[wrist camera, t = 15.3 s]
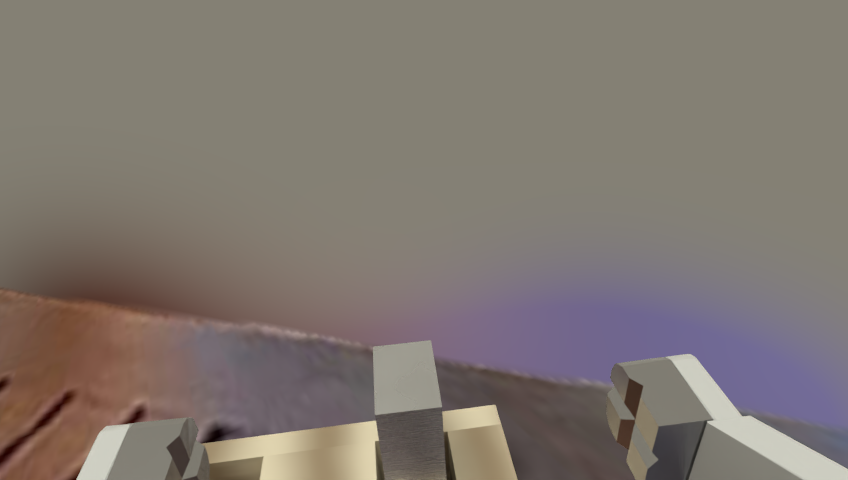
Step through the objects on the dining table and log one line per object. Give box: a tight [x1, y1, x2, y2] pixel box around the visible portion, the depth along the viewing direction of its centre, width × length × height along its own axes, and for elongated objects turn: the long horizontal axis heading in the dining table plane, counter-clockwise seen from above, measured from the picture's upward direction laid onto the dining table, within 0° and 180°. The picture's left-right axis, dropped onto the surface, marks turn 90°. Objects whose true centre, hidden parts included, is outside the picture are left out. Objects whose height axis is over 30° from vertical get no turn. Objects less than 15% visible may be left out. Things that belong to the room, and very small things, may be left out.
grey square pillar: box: [373, 341, 446, 480], centre depth 30 cm, size 3×4×13 cm, turn 6°
